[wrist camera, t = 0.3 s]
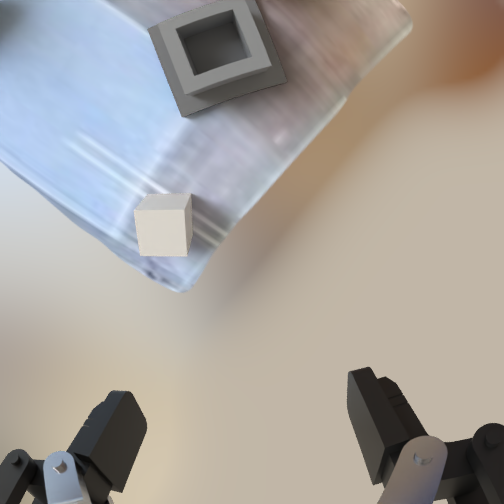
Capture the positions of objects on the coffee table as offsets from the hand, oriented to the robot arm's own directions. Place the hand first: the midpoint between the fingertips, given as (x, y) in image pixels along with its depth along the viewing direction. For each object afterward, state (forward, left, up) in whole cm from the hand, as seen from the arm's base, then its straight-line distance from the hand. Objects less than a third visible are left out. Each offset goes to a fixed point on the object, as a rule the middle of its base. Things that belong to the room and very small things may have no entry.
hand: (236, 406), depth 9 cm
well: (-11, +12, -30) cm, 34 cm away
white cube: (-4, -9, -30) cm, 32 cm away
